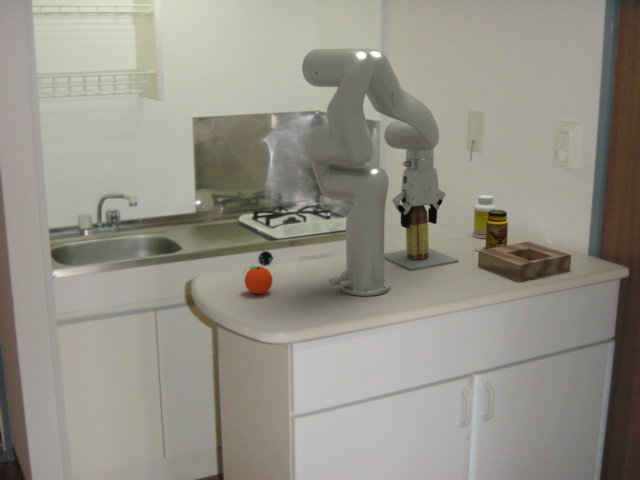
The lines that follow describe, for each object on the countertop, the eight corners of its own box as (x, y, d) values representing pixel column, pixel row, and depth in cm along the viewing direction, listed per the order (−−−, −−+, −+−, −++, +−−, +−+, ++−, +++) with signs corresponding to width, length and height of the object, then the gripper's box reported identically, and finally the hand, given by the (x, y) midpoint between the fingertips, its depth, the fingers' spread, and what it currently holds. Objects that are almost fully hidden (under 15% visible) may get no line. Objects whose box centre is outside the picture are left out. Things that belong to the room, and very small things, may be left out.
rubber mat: (411, 271, 203) (411, 268, 203) (379, 256, 217) (379, 254, 216) (458, 262, 210) (458, 260, 210) (425, 248, 224) (425, 246, 224)
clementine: (236, 295, 187) (235, 268, 185) (250, 287, 193) (248, 260, 191) (264, 299, 183) (263, 271, 182) (277, 290, 190) (276, 263, 188)
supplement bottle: (495, 239, 232) (497, 198, 229) (473, 238, 233) (474, 198, 230) (494, 234, 239) (496, 194, 235) (473, 233, 240) (474, 194, 236)
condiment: (498, 256, 215) (500, 215, 212) (474, 250, 221) (475, 210, 218) (513, 250, 220) (515, 211, 217) (488, 245, 226) (490, 206, 223)
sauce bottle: (428, 254, 216) (429, 186, 210) (429, 260, 210) (430, 191, 204) (405, 254, 216) (405, 186, 211) (405, 260, 210) (406, 191, 205)
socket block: (518, 282, 192) (519, 265, 191) (478, 266, 206) (478, 250, 204) (570, 271, 200) (571, 254, 199) (528, 256, 214) (528, 241, 212)
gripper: (400, 168, 199) (400, 232, 204) (453, 162, 207) (452, 223, 211) (385, 165, 205) (385, 226, 210) (437, 159, 213) (436, 218, 218)
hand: (418, 224), depth 211 cm, fingers open, 8 cm apart
